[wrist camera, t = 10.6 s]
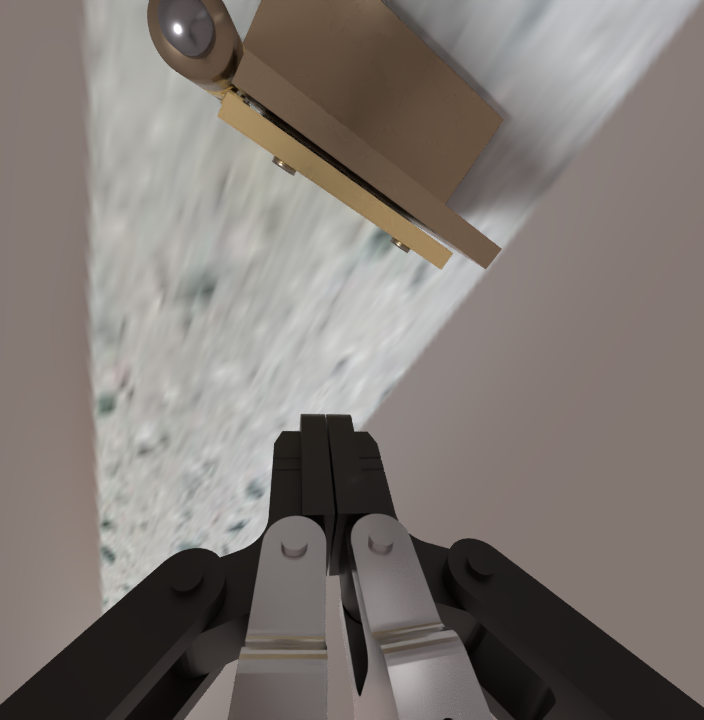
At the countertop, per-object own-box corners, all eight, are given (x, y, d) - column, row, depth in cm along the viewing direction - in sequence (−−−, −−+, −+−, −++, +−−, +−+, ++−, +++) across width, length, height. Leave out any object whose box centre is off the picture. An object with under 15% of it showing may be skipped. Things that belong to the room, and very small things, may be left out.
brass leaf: (193, 97, 19) (127, 65, 11) (218, 33, 18) (165, -50, 10) (389, 232, 24) (437, 274, 16) (418, 187, 23) (485, 209, 15)
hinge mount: (272, -91, 17) (252, -356, 8) (493, 121, 22) (630, 105, 13) (200, 85, 19) (125, 35, 11) (413, 237, 25) (483, 288, 16)
